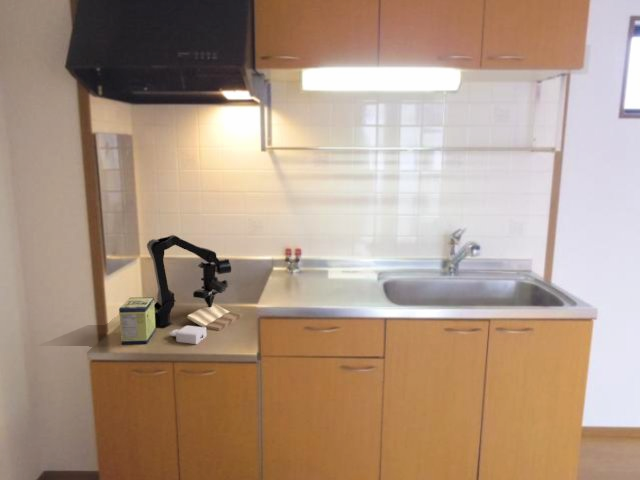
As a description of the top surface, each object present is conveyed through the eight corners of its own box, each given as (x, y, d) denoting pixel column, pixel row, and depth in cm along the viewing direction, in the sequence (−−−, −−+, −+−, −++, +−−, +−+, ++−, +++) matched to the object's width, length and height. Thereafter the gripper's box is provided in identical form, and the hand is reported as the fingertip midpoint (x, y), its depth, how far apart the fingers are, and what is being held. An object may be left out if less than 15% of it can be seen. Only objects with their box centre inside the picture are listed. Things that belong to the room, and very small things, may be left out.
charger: (175, 333, 203) (206, 337, 199) (163, 341, 194) (196, 345, 190) (175, 323, 202) (206, 326, 198) (163, 330, 193) (195, 334, 190)
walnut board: (219, 331, 206) (219, 327, 205) (206, 328, 208) (206, 325, 208) (242, 316, 224) (242, 313, 224) (229, 314, 226) (229, 311, 226)
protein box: (156, 330, 206) (154, 296, 203) (147, 344, 191) (145, 308, 188) (131, 330, 204) (129, 297, 202) (120, 345, 189) (118, 308, 186)
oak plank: (204, 328, 208) (205, 325, 208) (187, 318, 211) (187, 315, 210) (228, 314, 227) (229, 311, 226) (211, 305, 229) (212, 302, 229)
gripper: (212, 282, 209) (213, 315, 212) (234, 272, 227) (234, 303, 229) (191, 279, 213) (193, 312, 216) (214, 270, 230) (215, 300, 233)
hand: (210, 306), depth 224 cm, fingers closed
